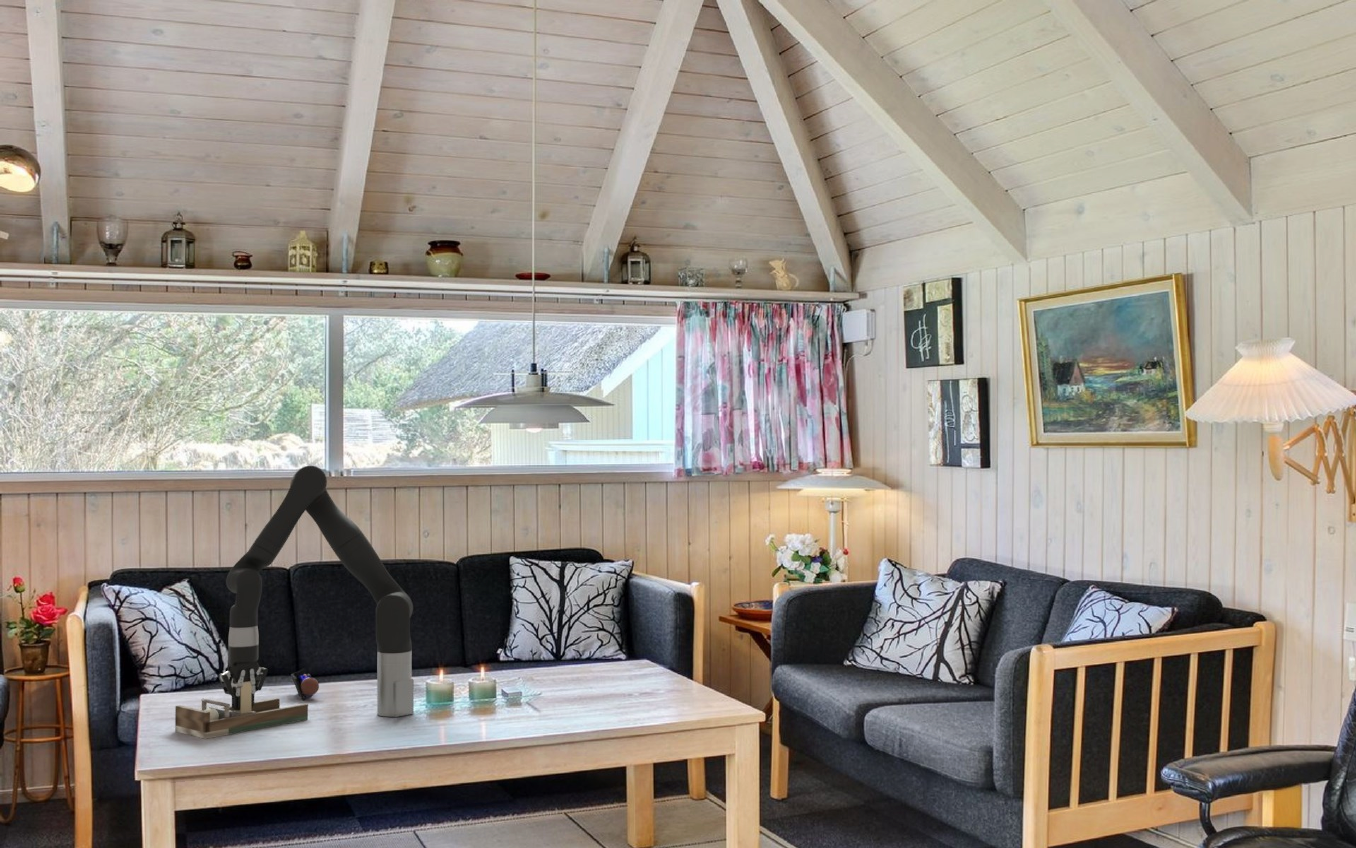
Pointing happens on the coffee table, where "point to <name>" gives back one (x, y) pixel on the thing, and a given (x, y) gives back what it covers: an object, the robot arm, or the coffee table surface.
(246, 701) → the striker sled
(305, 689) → the character figurine
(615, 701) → the coffee table surface
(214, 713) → the ball
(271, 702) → the channel
